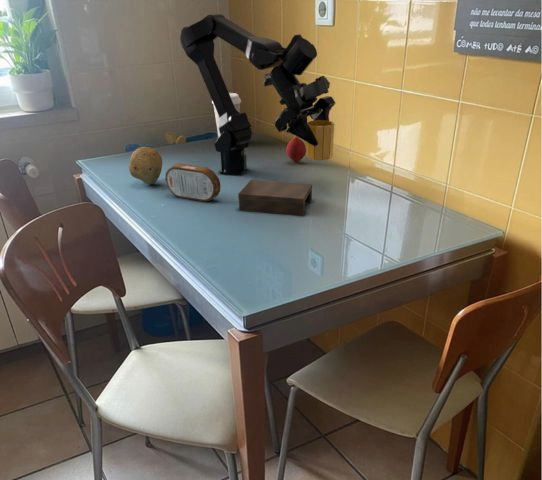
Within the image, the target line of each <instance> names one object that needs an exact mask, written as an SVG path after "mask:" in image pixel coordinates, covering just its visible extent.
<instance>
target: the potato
mask: <svg viewBox="0 0 542 480" xmlns="http://www.w3.org/2000/svg"><path fill="white" fill-rule="evenodd" d="M162 168H163V158H162V156H161V153H159V152H158V151H157V150H156V149H155V148H153V147H149V146H140V147H138V148H136V149H135V150H134V151H133V152H132V154H131V155H130V159H129V163H128V171H129V174H130V175H131V177H133V178H134V179H137V180H140V181H141V182H143V183H144V184H146V185H154V184H155V183H156V182H157V181H158V180H159V179H160V176H161V173H162V170H163V169H162Z"/></svg>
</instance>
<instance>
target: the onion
mask: <svg viewBox="0 0 542 480" xmlns="http://www.w3.org/2000/svg"><path fill="white" fill-rule="evenodd" d="M306 148H307V146H306V144H305V143H304V140H303V139H301V138H299V137H297V136H295V135H293V138H292V139H291V140H290V141H289V142H288V143H287V145H286V149H285V150H286V151H285V152H286V155H287V157H288V158H289V159H290V160H291V161H292V162H293V163H294V164H297V163H298V162H300V161H301V160H302V159H304V157H305V156H306Z"/></svg>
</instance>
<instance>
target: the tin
mask: <svg viewBox="0 0 542 480" xmlns="http://www.w3.org/2000/svg"><path fill="white" fill-rule="evenodd" d="M165 183H166V186H167V188H168V190H169V191H170V192H171V193H172V194H173V195H174V196H176V197H177V198H181V199H186V200H187V199H188V200H192V201H193V200H194V201H199V202H209V201H212V200H213V199H215V198H216V197H218V196H219V194H220V192H221V181H220V178H219V176H218V175H217V174H216V172H215V171H214V170H212V169H211V168H209V167H207V166H204V165H203V166H202V165H196V164H188V163H183V162H177V163H174V164H173V165H172V166H171V167H169V168H168V169H167V171H166V172H165Z"/></svg>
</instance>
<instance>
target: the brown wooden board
mask: <svg viewBox="0 0 542 480" xmlns="http://www.w3.org/2000/svg"><path fill="white" fill-rule="evenodd" d="M237 197H238V208H239V211H243V212H244V211H245V212H255V213H268V214H279V215H291V216H304V215H305V212H306V210H305V209H306V203H308V204H310V203H312V202H313V201H312V200H313V183H308V182H307V183H305V182H292V181H275V180H265V179H264V180H263V179H250V180H249V181H248V182H247V184H246V185H245V186H244V187H243V188H242V189H241V190H240V191H239V192H238V195H237Z"/></svg>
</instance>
